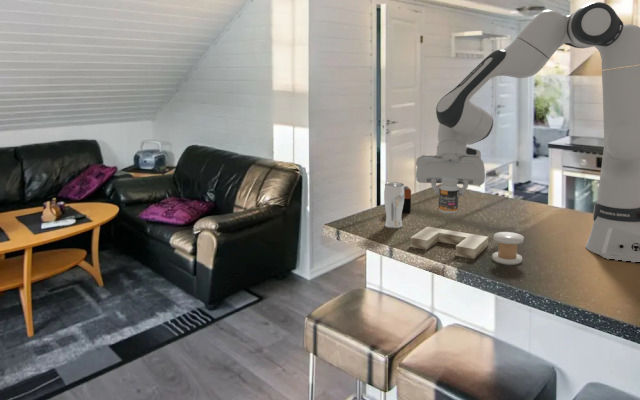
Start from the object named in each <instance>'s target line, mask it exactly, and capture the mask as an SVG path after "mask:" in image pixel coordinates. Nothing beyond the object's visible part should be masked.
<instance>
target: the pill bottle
mask: <svg viewBox="0 0 640 400" xmlns="http://www.w3.org/2000/svg"><path fill="white" fill-rule="evenodd" d="M441 182H442V183H441V185H440V186H439V187H440V188H439V195H438V206H437V207H438V208H437V209H438V211H439V212H441V213H445V214H454V213H457V212H458V210H459V199H460V198H459V197H460V196H459V188H460V187H459V186H458V184H457V183H458V179H457V178H447V177H444V178H442V181H441Z"/></svg>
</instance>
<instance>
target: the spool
mask: <svg viewBox="0 0 640 400" xmlns="http://www.w3.org/2000/svg"><path fill="white" fill-rule="evenodd" d="M493 240H494V241H495V242H497V243H498V247H497V249H498V250H497V251H496V252H493V253H492V255H491V256H492V257H491V259H492V260H493V262H495V263H498V264H502V265H506V266H508V265H509V266H515V265H519V264H522V262H523V256H522V255H520V254H518V246H519V245H520V244H523V243H524V241H525V237H524V236H523V235H522V234H519V233H517V232H512V231H511V232H510V231H499V232H495V233H494V234H493Z"/></svg>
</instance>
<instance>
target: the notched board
mask: <svg viewBox="0 0 640 400" xmlns="http://www.w3.org/2000/svg"><path fill="white" fill-rule="evenodd" d="M409 241H410V242H409V243H410V244H409V247H410V248H415V249H420V250H424V251H427V250H429V249H430V248H431V247H433V246H434V245H436V244H437V243H444V244H450V245H455V256H456V257H463V258H466V259H467V258H468V259H471V260H475V259H476V258H477V257H478V256H479V255H480V254H481V253H483V252H484V251H485V249H486V248H487V247H489V236H485V235H480V234H474V233H467V232H462V231H457V230H456V231H455V230H450V229H443V228H438V227H432V226H426V227H424V228H423V229H421V230H419V231H418V232H417V233H415V234H414V235H412V236H410V240H409Z"/></svg>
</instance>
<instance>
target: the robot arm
mask: <svg viewBox="0 0 640 400" xmlns="http://www.w3.org/2000/svg"><path fill="white" fill-rule="evenodd" d="M563 45H566V46H570V47H573V48H576V49H586V48H587V49H588V48H593V47H594V48H596V49H597V50H598V52H599V54H600V59H601V84H602V109H603V110H602V111H603V113H602V114H603V116H602V117H603V140H604V141H603V143H604V144H603V150H602V152H603V153H602V159H601V160H602V161H601V168H600V176H599V182H598V184H599V185H598V192H597V199H596V201H595V202H594V208H593V216H592V217H593V219H592V220H593V224H592V227H591V231H590V235H589V237H588V239H587V242H586V243H585V248H586V250H588V251H590V252H591V253H594V254H597V255H599V256H601V257H602V258H604V259H605V258H606V260H609V259H615V260H614V261H618V260H622V261H621V262H626V261H631V262H630V263H635V262H640V26H638V25H636V24H624V22H623V21H622V19H621V18H620V16H618V14H617V12H616V11H615V9H613V8H612V6H611V5H609V4H607V3H605V2H601V1H593V2H589V3H587V4H586V3H585V5H582V6H581V7H579V8H578V9H576V10H575V11H574V12H573V13H570V14H569V15H563V14H562V13H560V12H559V11H557V10H551V9H545V10H542V11H541V12H540V13H539V14H537V15H536V16H535V17H534V18H533V19H532V20H531V21H530V22H529V23H528V24H527V25H526V26H525V27H524V28H523V29H522V31H521V32H520V33H519V34H518V36H517V37H516V38H515V39H514V41H512V43H510V44H509V45H508V46H506V47H504V48H502V49H496V50H494V51H493V52H491V53H490V54H488V55H487V56H486V57H485V58H484V59H483V60H481V61H480V62H479V64H477V66H476V67H474V68H473V69H472V70H471V71H470V72H469V74H468V75H466V77H464V78H463V80H462V81H460V83H458V84H457V86H455V87H454V88H453V89H451V90H450V91H449V92H448V93H446V94H445V95H444V96H443V97H442V98H440V100H439V101H438V102H437V105H436V108H435V109H436V110H435V111H436V112H435V113H436V119H437V122H438V123H439V124H438V130H437V140H438V143H437V146H436V155H424V154H422V155H421V156H419V157H417V158H416V161H415V162H416V163H415V165H416V171H415V180H416V181H417V182H418V183H419V184H421V183H422V184H431V187H432V189H433V191H434V193H433V196H434V195H435V196H436V195H437V196H439V188H440V186H439V187H438V186H437V184H442V182H441V181H442V178H444V177H447V178H457V179H458V183H457V185H462V187H459V197H464V196H465V191H466V190H467V188H468V186H469V185H472V186H475V185H476V186H482V185H483V184H484V183H485V180H486V170H485V164H484V161H483V160H482V158H481V157H482V156H481V155H482V154H481V150H479V149H477V148H476V149H475V148H472V147H468V146H467V145H473V144H476V143H479V142H481V141H484V140H485V139H486V138H488V137H489V136H490V134H491V132H492V130H493V128H494V127H493V126H494V117H493V116H492V114H490V113H489V112H487V111H486V110H484V109H483V108H482V107H481V106H479V105H477V104H475V103H474V102H472V101H471V98H472V97H473V96H474V95H475V94H476V93H477V92H478V91H479V90H480V89H482V88H483V86H484V85H486V83H487V82H488V81H490V80H491V79H493V78H496V77H501V76H504V77H511V78H516V79H525V78H529V77H532V76H535V75H537V73H539V72H540V71H541V70H542V69H543V68H544V67H545V65H546V64H547V63H548V61H549V60H550V59H551V58H552V56H553V55H554V54H555V53H556V51H558V50H559V49H560V48H561V47H562V46H563Z"/></svg>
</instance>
